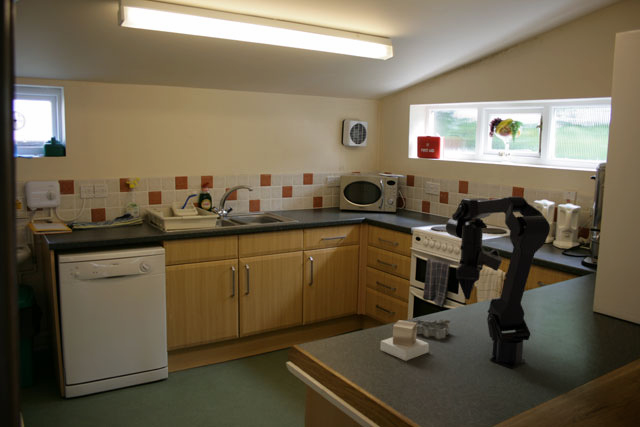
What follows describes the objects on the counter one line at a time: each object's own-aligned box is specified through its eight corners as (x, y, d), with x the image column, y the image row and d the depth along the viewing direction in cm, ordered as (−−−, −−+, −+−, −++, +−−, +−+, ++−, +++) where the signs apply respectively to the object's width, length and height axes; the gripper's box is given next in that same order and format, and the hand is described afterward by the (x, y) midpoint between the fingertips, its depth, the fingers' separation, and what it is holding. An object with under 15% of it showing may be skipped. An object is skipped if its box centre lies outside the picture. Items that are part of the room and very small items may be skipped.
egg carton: (451, 333, 158) (452, 320, 158) (442, 341, 152) (443, 327, 151) (417, 326, 164) (418, 313, 163) (407, 333, 158) (408, 320, 157)
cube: (411, 347, 140) (411, 328, 140) (392, 343, 142) (393, 325, 142) (416, 340, 145) (416, 322, 144) (398, 337, 147) (399, 320, 146)
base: (428, 352, 143) (428, 343, 143) (405, 360, 138) (405, 351, 137) (403, 342, 150) (403, 333, 150) (380, 349, 145) (380, 340, 144)
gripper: (500, 250, 141) (496, 307, 143) (502, 238, 158) (499, 289, 161) (456, 247, 145) (454, 302, 147) (464, 235, 162) (461, 285, 165)
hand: (469, 294), depth 155 cm, fingers open, 9 cm apart
